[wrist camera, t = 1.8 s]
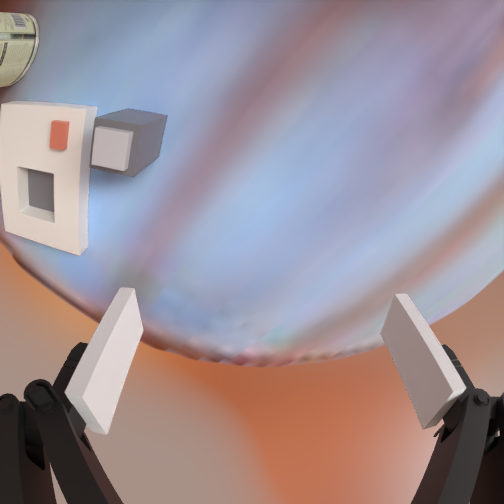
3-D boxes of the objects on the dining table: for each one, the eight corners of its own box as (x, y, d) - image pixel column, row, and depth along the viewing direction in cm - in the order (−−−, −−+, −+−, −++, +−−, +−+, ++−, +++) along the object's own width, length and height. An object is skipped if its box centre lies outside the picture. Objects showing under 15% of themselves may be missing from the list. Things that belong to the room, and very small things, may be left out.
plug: (128, 108, 26) (90, 119, 19) (167, 115, 27) (138, 126, 20) (121, 148, 28) (84, 170, 22) (159, 156, 29) (130, 180, 22)
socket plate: (13, 100, 24) (-3, 105, 21) (98, 106, 26) (82, 110, 23) (15, 222, 33) (2, 233, 30) (88, 245, 35) (76, 259, 32)
